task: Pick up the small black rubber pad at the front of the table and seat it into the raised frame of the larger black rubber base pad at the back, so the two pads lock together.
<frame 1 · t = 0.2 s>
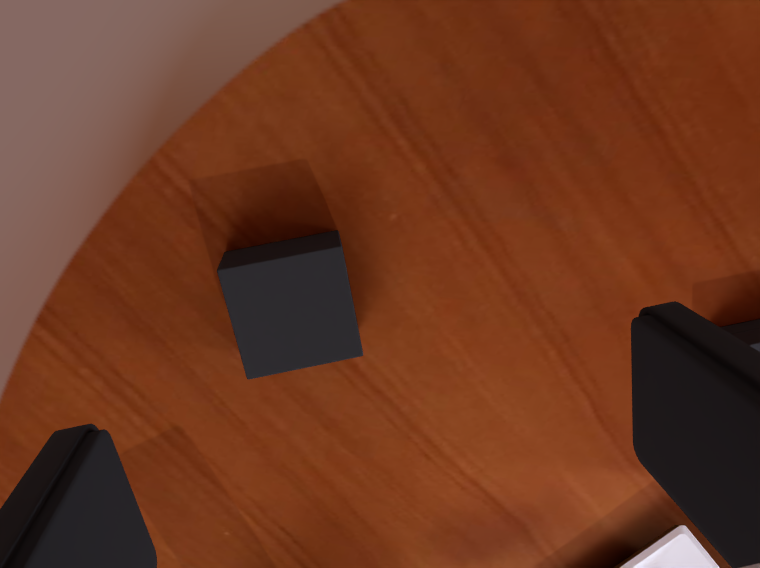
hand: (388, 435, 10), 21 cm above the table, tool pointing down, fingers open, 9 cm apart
small pad: (293, 293, 32), on the table
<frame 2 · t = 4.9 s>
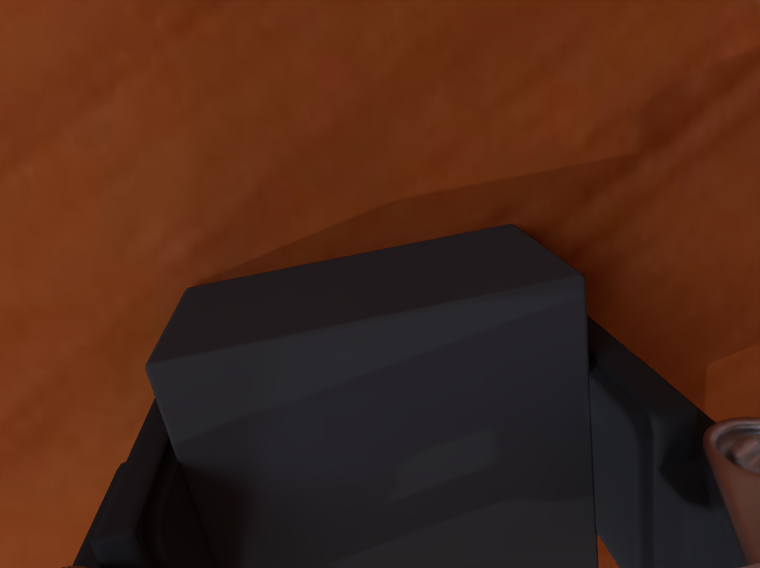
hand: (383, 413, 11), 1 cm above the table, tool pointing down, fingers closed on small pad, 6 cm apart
small pad: (379, 396, 12), on the table, touching gripper
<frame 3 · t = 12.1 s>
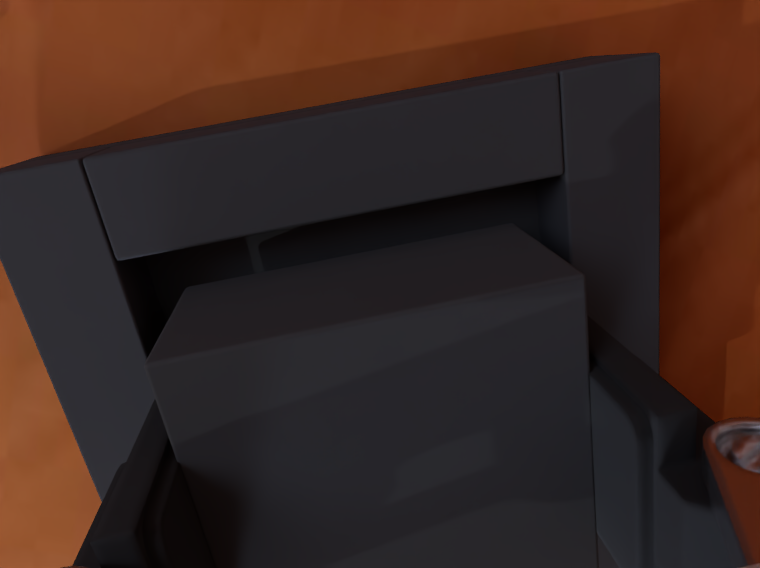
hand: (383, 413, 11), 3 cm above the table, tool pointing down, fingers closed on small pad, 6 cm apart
small pad: (379, 396, 12), point 2 cm above the table, touching gripper
base pad: (369, 353, 13), on the table, touching gripper
when the fingers open (4 cm above the table, at t = 21.6 s): small pad drops 2 cm, resting on base pad.
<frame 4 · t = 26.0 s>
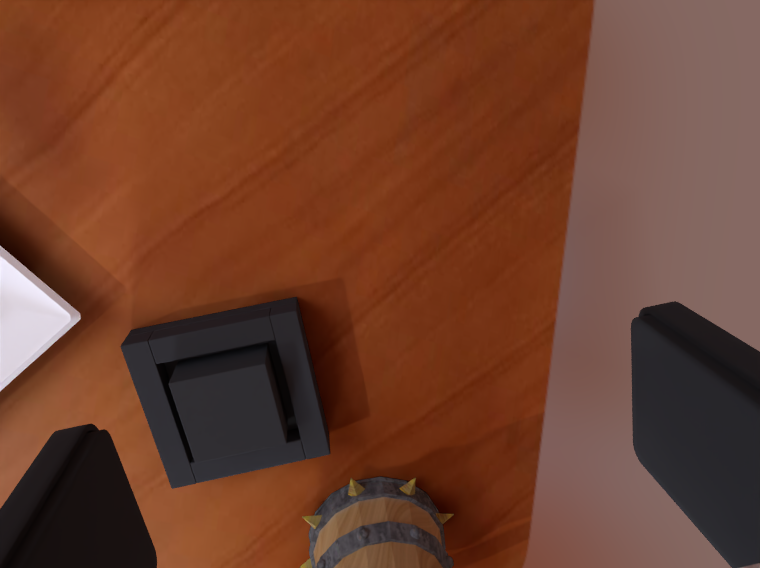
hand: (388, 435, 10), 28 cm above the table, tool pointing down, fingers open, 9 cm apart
mug: (362, 550, 47), on the table
small pad: (234, 390, 40), point 1 cm above the table, touching base pad
base pad: (235, 384, 41), on the table, touching small pad
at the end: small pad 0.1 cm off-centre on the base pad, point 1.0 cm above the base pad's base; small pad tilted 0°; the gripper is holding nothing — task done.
